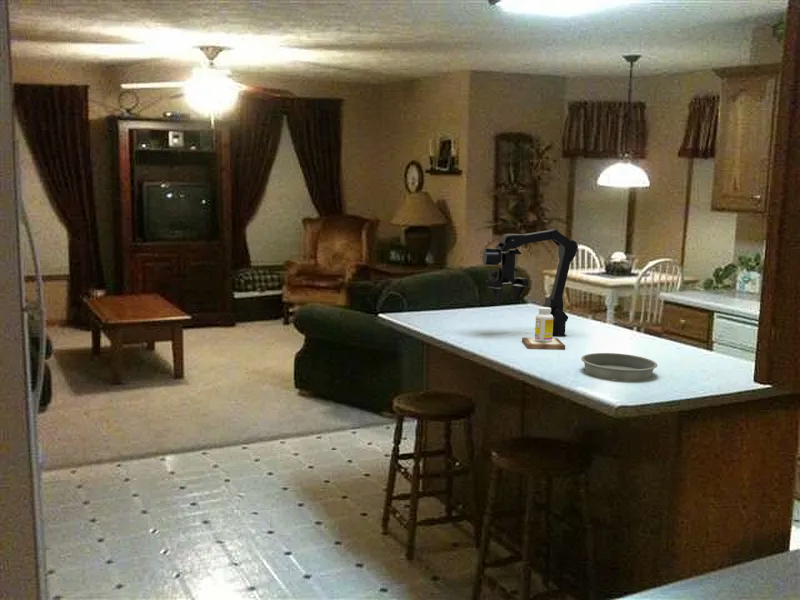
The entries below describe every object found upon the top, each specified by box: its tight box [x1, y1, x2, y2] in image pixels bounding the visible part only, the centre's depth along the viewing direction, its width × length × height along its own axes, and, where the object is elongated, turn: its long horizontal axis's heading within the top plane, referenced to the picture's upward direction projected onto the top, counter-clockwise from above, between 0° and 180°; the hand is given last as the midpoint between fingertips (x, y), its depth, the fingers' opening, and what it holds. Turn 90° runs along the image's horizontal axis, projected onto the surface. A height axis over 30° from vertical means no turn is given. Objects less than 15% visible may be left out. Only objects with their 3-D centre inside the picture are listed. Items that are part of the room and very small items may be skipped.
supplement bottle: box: [534, 306, 554, 342], centre depth 317 cm, size 7×7×13 cm
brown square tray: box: [521, 337, 566, 351], centre depth 318 cm, size 14×14×2 cm
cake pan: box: [580, 352, 658, 382], centre depth 276 cm, size 25×25×4 cm
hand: (506, 303), depth 335 cm, fingers open, 9 cm apart
